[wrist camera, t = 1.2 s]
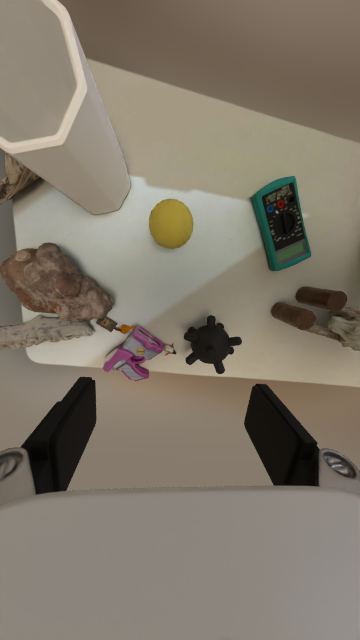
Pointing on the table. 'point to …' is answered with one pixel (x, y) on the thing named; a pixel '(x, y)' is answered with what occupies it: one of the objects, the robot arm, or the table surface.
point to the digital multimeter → (281, 223)
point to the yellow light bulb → (171, 223)
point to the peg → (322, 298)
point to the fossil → (41, 332)
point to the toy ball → (210, 344)
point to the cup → (56, 107)
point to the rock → (54, 284)
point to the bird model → (15, 178)
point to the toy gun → (134, 354)
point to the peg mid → (293, 315)
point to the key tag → (113, 325)
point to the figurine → (342, 328)
